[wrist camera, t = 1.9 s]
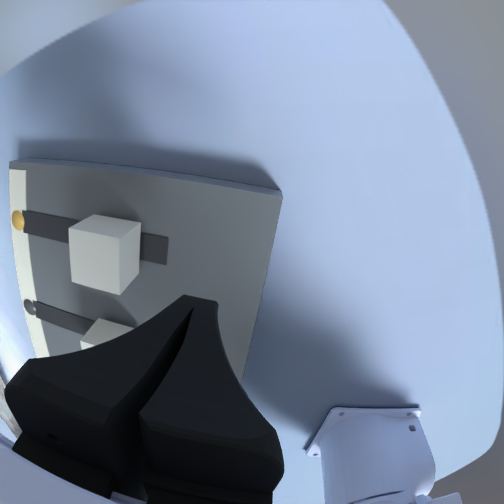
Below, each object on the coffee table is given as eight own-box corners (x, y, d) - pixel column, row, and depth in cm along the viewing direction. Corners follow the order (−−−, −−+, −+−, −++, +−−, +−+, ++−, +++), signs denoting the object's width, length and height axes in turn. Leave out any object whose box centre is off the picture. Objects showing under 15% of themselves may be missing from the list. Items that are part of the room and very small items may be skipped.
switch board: (281, 190, 17) (282, 198, 15) (228, 429, 25) (225, 448, 23) (27, 157, 17) (7, 162, 15) (57, 378, 24) (47, 392, 22)
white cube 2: (139, 329, 18) (123, 354, 16) (140, 363, 19) (127, 388, 17) (98, 318, 18) (80, 340, 16) (102, 351, 19) (87, 374, 17)
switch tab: (141, 222, 15) (119, 238, 13) (139, 273, 17) (119, 295, 14) (94, 214, 15) (68, 227, 13) (94, 262, 16) (71, 282, 14)
